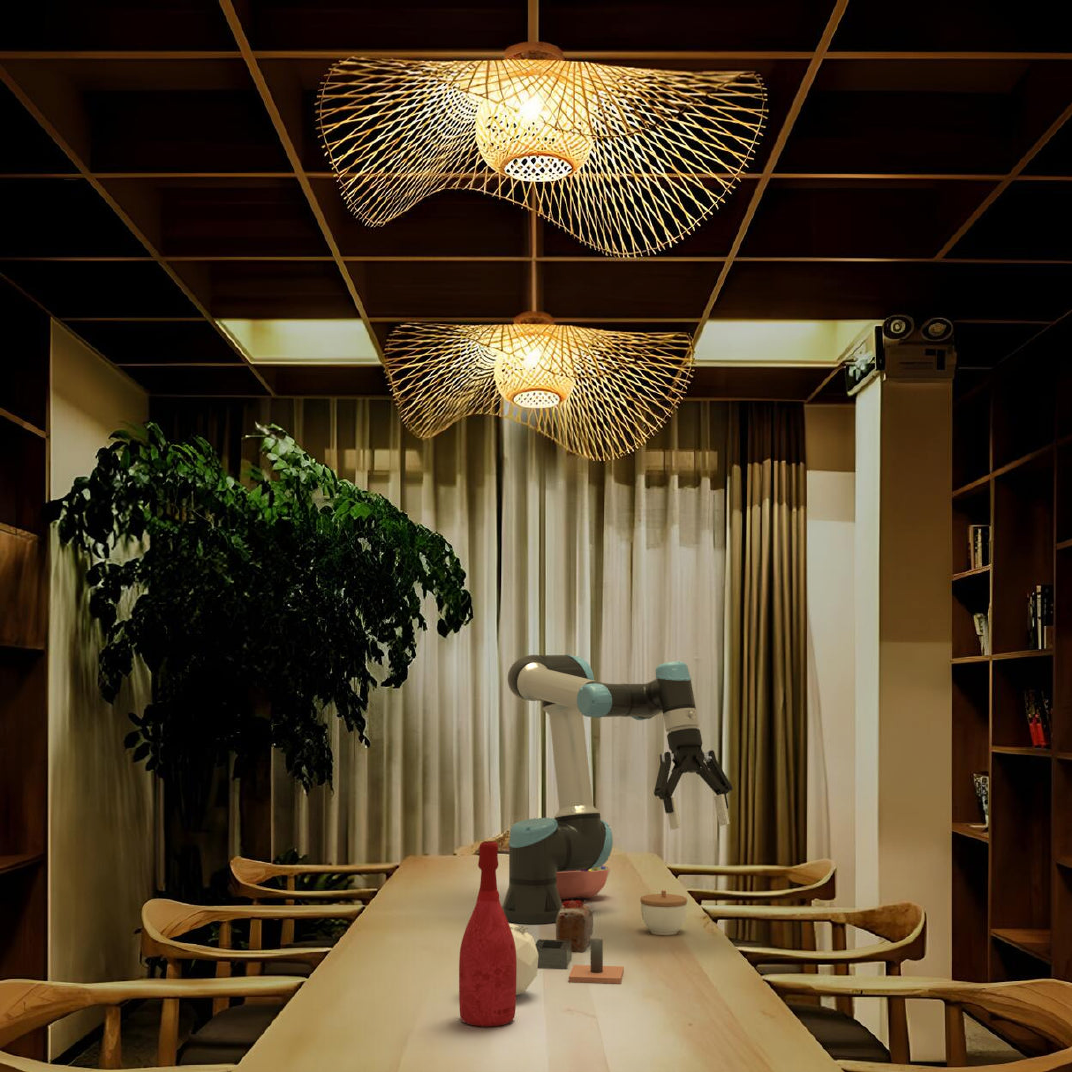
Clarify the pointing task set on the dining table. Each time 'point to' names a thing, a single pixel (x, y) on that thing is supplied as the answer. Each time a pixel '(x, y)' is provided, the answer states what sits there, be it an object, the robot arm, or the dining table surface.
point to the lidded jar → (663, 912)
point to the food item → (575, 924)
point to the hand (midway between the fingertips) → (700, 826)
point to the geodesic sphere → (524, 958)
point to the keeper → (596, 968)
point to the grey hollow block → (554, 953)
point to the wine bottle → (487, 953)
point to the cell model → (581, 882)
